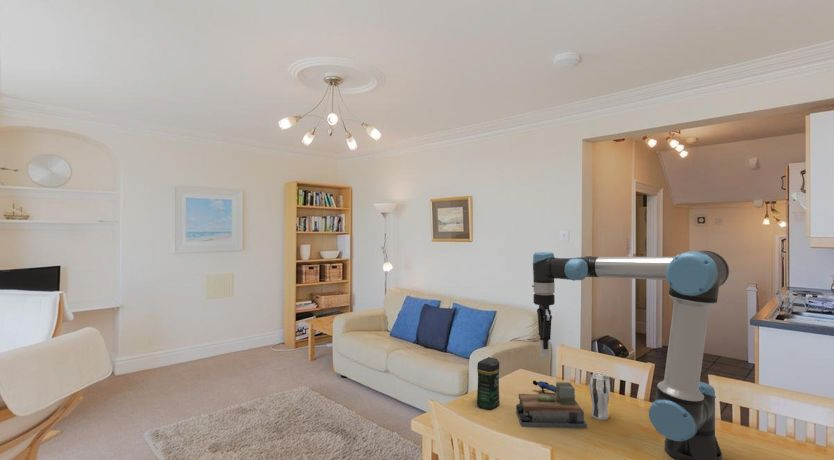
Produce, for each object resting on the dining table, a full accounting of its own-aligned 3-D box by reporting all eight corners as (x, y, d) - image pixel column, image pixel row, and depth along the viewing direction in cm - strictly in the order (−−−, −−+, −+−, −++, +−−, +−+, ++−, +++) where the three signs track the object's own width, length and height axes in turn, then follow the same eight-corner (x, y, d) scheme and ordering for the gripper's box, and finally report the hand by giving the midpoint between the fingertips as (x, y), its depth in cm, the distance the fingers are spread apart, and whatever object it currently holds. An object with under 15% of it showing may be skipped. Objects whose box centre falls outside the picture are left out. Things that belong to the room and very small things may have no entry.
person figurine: (576, 399, 180) (535, 385, 190) (578, 389, 180) (537, 375, 189) (571, 408, 171) (527, 392, 180) (572, 397, 170) (529, 382, 180)
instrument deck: (581, 412, 150) (581, 391, 150) (524, 410, 151) (524, 390, 151) (571, 399, 162) (571, 379, 162) (518, 397, 163) (518, 378, 163)
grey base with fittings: (587, 428, 149) (587, 413, 149) (521, 426, 151) (521, 411, 151) (576, 413, 162) (576, 399, 162) (515, 411, 163) (515, 397, 163)
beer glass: (589, 418, 158) (589, 378, 158) (590, 411, 164) (590, 372, 164) (609, 422, 154) (609, 381, 154) (610, 414, 161) (610, 375, 160)
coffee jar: (492, 411, 164) (492, 364, 164) (474, 406, 168) (474, 360, 168) (502, 403, 172) (502, 357, 172) (484, 398, 176) (484, 354, 176)
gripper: (530, 291, 163) (530, 352, 163) (537, 296, 150) (538, 362, 150) (549, 291, 163) (550, 352, 162) (558, 296, 150) (560, 362, 149)
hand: (544, 357), depth 156 cm, fingers closed
